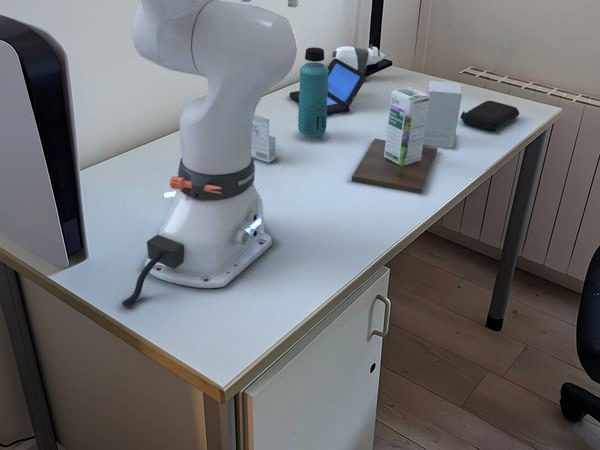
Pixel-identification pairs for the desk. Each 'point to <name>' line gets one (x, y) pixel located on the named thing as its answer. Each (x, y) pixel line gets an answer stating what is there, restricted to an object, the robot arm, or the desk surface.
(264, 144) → the ink cartridge box
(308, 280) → the desk surface
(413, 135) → the syrup box
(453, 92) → the white packaging box
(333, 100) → the game console
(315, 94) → the beverage bottle
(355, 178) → the walnut board
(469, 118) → the carrying case
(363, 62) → the giant panda
